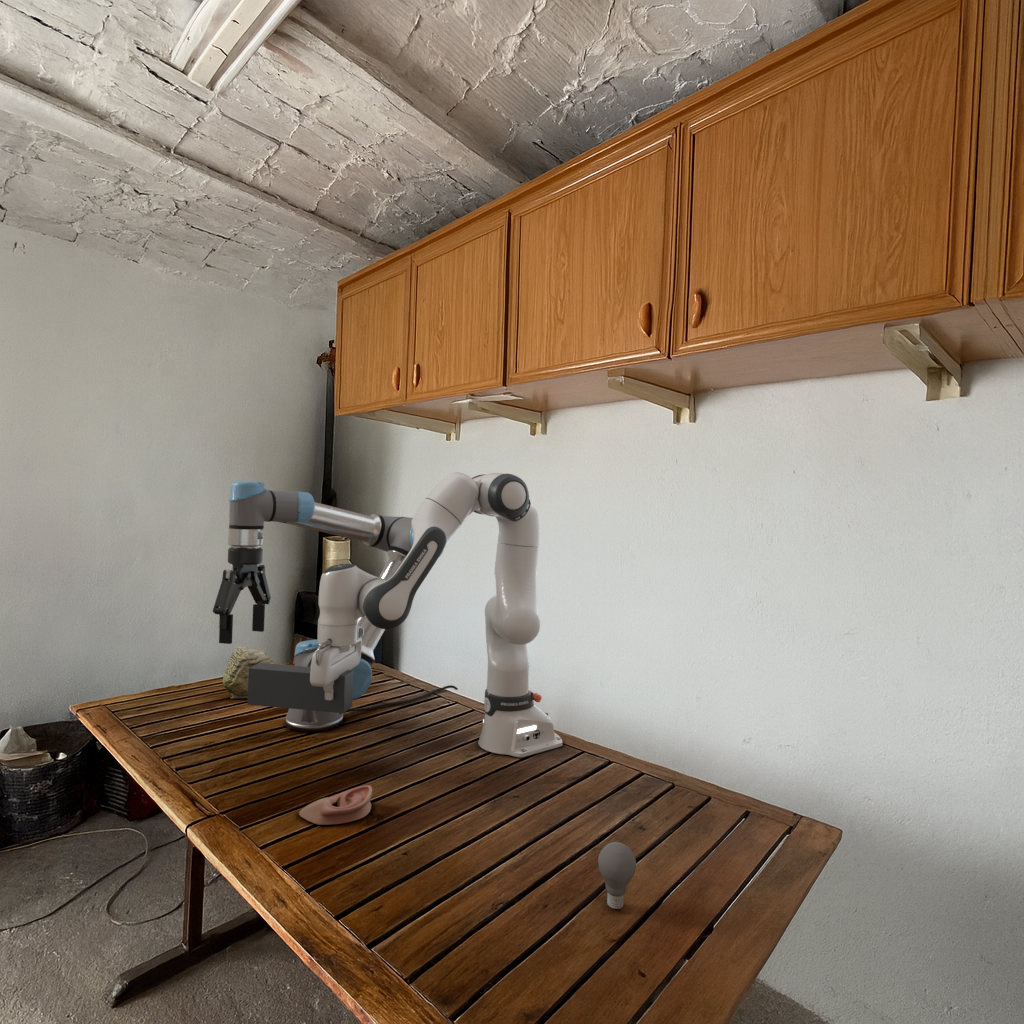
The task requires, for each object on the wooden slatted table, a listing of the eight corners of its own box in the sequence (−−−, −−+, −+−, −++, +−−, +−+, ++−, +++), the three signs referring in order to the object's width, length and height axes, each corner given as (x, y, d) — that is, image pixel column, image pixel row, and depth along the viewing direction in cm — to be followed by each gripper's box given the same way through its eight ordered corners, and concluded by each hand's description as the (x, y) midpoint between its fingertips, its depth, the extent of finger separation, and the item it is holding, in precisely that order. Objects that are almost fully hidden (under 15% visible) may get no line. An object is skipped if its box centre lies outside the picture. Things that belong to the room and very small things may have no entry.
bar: (247, 704, 146) (248, 668, 146) (258, 698, 151) (259, 662, 150) (343, 713, 142) (344, 676, 142) (352, 706, 147) (353, 670, 147)
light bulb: (592, 894, 104) (595, 834, 104) (628, 894, 104) (631, 834, 104) (600, 919, 98) (603, 855, 98) (638, 918, 99) (641, 855, 98)
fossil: (218, 695, 195) (220, 647, 195) (278, 685, 208) (279, 640, 207) (228, 703, 189) (230, 653, 188) (289, 692, 201) (290, 645, 201)
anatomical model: (291, 800, 123) (320, 775, 134) (290, 820, 123) (320, 794, 134) (354, 810, 120) (379, 784, 132) (353, 830, 121) (378, 803, 132)
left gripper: (229, 551, 136) (226, 650, 136) (286, 544, 160) (283, 627, 161) (197, 549, 137) (194, 647, 137) (259, 542, 161) (256, 625, 162)
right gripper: (331, 646, 134) (329, 710, 135) (366, 627, 154) (365, 683, 155) (303, 644, 135) (301, 708, 135) (342, 625, 155) (340, 681, 156)
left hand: (242, 637), depth 149 cm, fingers open, 13 cm apart
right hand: (335, 695), depth 145 cm, fingers closed on bar, 5 cm apart
